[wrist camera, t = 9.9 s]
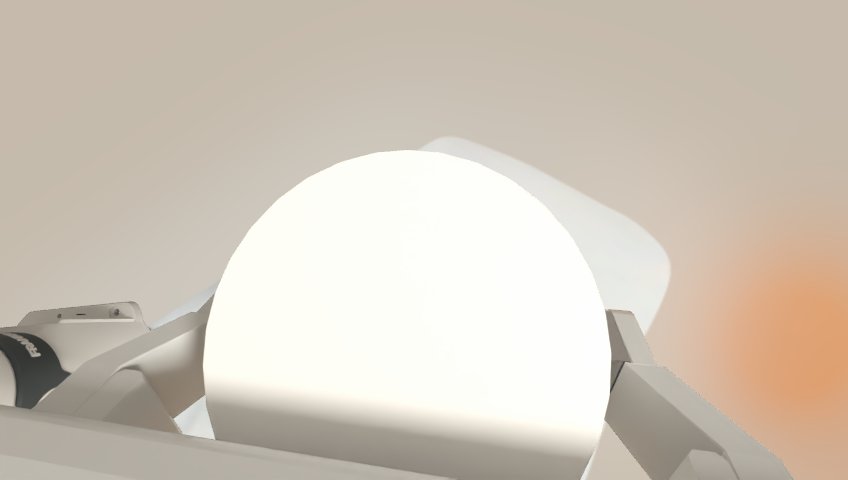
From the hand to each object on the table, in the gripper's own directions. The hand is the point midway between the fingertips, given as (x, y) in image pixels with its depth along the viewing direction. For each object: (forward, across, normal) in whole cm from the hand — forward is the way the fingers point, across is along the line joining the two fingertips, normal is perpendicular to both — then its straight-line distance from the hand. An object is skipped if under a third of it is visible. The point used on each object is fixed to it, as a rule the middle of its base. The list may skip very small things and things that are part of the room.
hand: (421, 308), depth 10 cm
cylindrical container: (+15, 0, +16) cm, 22 cm away
